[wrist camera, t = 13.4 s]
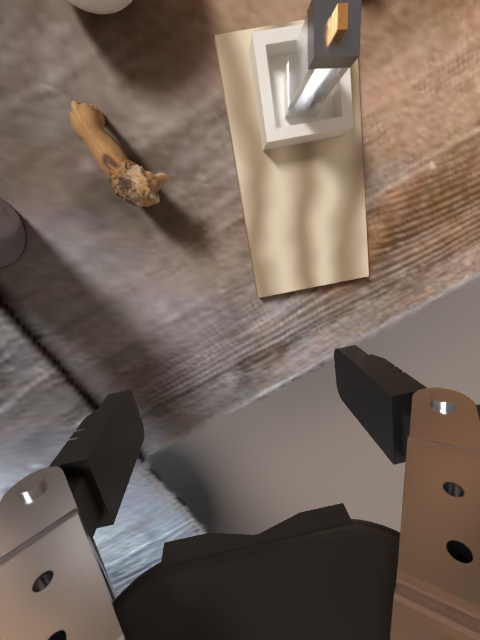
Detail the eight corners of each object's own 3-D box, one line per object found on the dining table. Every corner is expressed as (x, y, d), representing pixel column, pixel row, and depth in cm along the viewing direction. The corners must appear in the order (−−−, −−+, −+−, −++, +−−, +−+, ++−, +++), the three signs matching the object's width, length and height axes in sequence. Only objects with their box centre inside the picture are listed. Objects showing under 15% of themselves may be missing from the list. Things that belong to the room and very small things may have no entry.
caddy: (262, 150, 34) (267, 142, 31) (248, 51, 31) (252, 32, 28) (342, 136, 34) (353, 126, 31) (335, 36, 32) (347, 16, 29)
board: (256, 296, 40) (258, 297, 39) (214, 44, 32) (214, 35, 31) (363, 275, 41) (368, 276, 39) (349, 21, 33) (355, 11, 31)
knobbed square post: (284, 118, 33) (318, 55, 22) (282, 68, 31) (318, -25, 20) (315, 116, 33) (365, 53, 22) (315, 67, 32) (368, -26, 21)
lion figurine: (181, 193, 36) (170, 178, 27) (154, 223, 37) (135, 218, 28) (87, 94, 32) (40, 41, 24) (58, 130, 33) (3, 91, 25)
